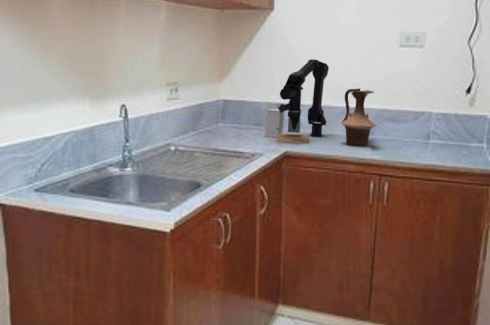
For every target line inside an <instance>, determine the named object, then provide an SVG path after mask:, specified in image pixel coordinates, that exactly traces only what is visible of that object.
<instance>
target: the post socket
mask: <svg viewBox="0 0 490 325" xmlns="http://www.w3.org/2000/svg"><path fill="white" fill-rule="evenodd" d="M276 138H277V139H276V142H277V143H291V144H292V143H294V144H309V143H310V134H304V133H303V134H302V133H283V132H282V133H279V135H278V137H276Z"/></svg>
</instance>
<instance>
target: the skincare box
mask: <svg viewBox="0 0 490 325" xmlns="http://www.w3.org/2000/svg"><path fill="white" fill-rule="evenodd" d="M284 117H285V111H283V112H281V113H280V111H279V108H278V109H276V108H267V110H266V118H265V119H266V120H265V130H264V135H265V137H271V138H277V137H278V135H279V133H282V134H283V132H284V130H283V129H284V120H285V118H284Z"/></svg>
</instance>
